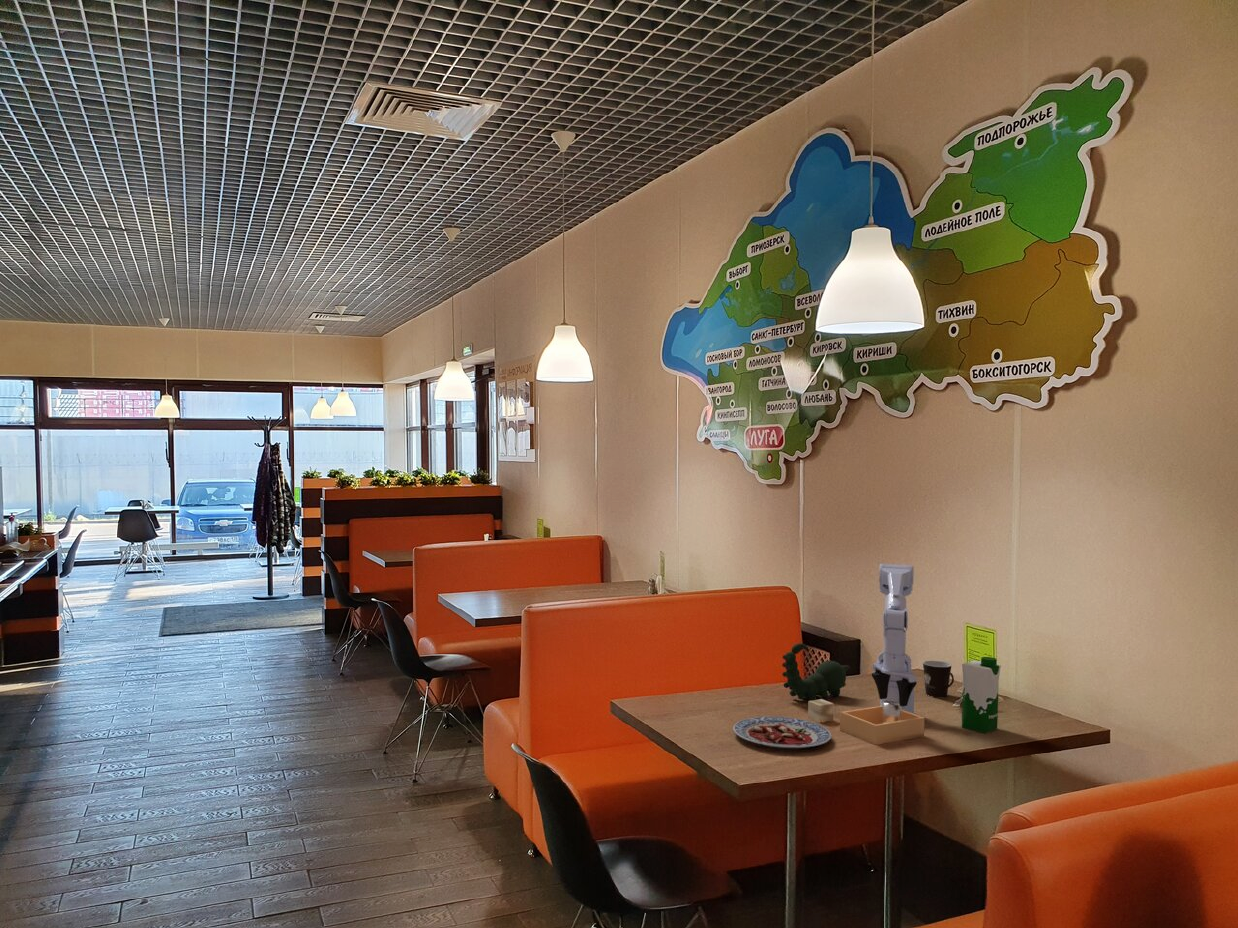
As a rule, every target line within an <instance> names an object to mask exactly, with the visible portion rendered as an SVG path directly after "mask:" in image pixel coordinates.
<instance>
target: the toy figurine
mask: <svg viewBox="0 0 1238 928" xmlns="http://www.w3.org/2000/svg"><path fill="white" fill-rule="evenodd" d="M802 650H805V651H808V650H809V648H808V647H807V645H806V644H804V643H801V642H799V643H795V644H794V645H793V646H792V647H791V651H787V652H786V653H785V654H783V655H782V659H783V660H785V662H782V664H781V665H782V667H783V668H785V669H786V670H785V671H783V672H782V676H783V677H784V678H786V679H787V680H786V681H785V682H784V683H783V687H784V688H785V689H787V688H788V689H789V690H790V691H789V696H791V697H796V696H797V699H798V700H804V699H807V700H809V701H813V700H817V697H816V696H819V697H820V699H823V700H825V699H827V698H828V696H829V695H830V696H831V697H838V696H839V695H840V694H841V689H842V688H844V687H845V686H846V680H847V674H846V672H847V671H848V670H849V669H850V667H851V666H850V665H841V664H840V663H839V662H837V661H834V660H825V661H823V662H822V663H819V665H818V666H817V667H816V670H815V672H814V673H811V674H810V675H809V676H808V677H806V678H802V676H801V674H800V670H799V669H798V667H799V664H798V662H797V656H796V655H797V654H799V653H800V652H801V651H802Z"/></svg>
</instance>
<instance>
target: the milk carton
mask: <svg viewBox="0 0 1238 928" xmlns="http://www.w3.org/2000/svg"><path fill="white" fill-rule="evenodd" d="M980 659H981V660H980V661H979V660H971V661H968V662H965V663H963V664H961V666H962V694H961V695H962V697H961V699H962V700H961V728H963V729H966V730H972V731H974V732H975V731H976V732H979V733H984V734H988V733H990V732H993V731H995V730H997V729H998V721H999V720H998V718H999V717H998V716H999V714H998V713H999V684H1000V683H999V682H1000V681H999V680H1000V674H1001V665H1000V664H999V663H998V664H997V661H998V660H997V658H996V657H993V656H992V657H991V656H982V657H981V658H980Z"/></svg>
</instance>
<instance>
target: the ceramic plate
mask: <svg viewBox="0 0 1238 928" xmlns="http://www.w3.org/2000/svg"><path fill="white" fill-rule="evenodd" d="M732 729H733V732H734V734H735V735H736V736H738V737H739V738H741V739H743V740H744V741H745V740H746V741H748V742H751V743H755V744H758V745H761V744H762V746H765V747H769V748H775V749H787V750H788V749H793V750H794V749H802V748H804V749H805V748H810V747H816V746H821V745H823V744H826V743H828V742H829V741H831V738H832V733H831V731H830V730H828V729H827V728H826V727H824V726H822V725H820V724H817V723H815V722H812V721H808V720H804V719H799V718H792V717H784V716H757V717H749V718H745V719H742V720H739V721H737V722H735V724H733V727H732Z"/></svg>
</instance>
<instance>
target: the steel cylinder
mask: <svg viewBox="0 0 1238 928" xmlns="http://www.w3.org/2000/svg"><path fill="white" fill-rule="evenodd" d="M901 718H902V706H900V704H899V702H897V701H883V720H882V724H883V723H889V722H895V721H901Z"/></svg>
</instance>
